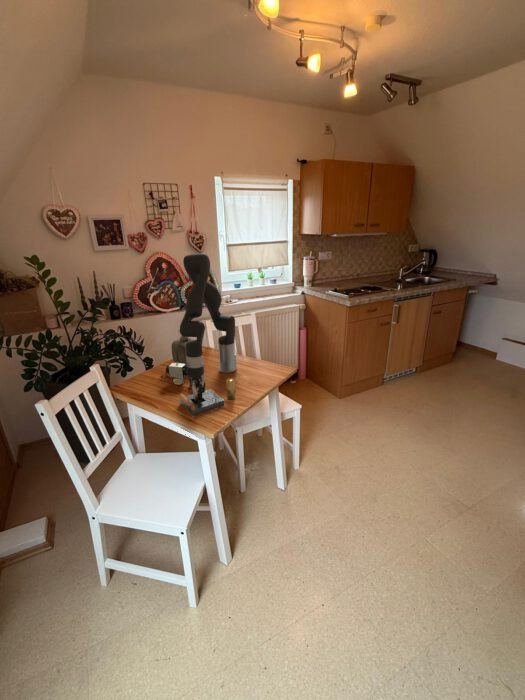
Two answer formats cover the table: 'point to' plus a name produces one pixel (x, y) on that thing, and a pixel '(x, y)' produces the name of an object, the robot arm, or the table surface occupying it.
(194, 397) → the translucent grey cylinder
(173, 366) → the pneumatic valve
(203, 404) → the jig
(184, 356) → the olive green lantern
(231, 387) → the brass bushing
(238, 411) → the table surface
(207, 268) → the robot arm
